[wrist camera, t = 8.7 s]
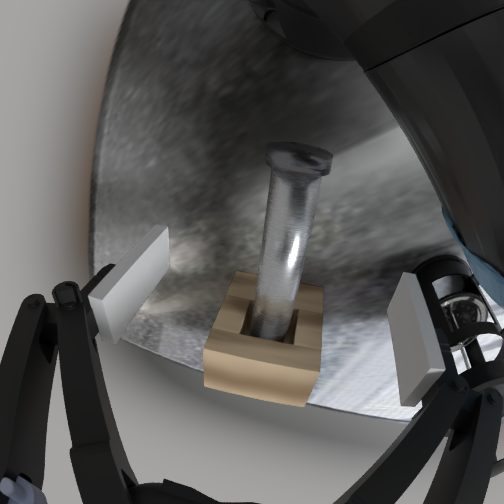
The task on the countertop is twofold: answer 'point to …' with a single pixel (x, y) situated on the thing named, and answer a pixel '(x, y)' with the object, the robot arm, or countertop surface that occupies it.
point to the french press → (464, 325)
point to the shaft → (286, 233)
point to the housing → (264, 347)
